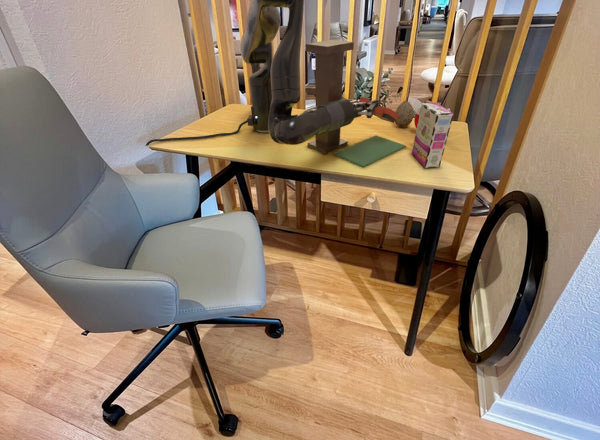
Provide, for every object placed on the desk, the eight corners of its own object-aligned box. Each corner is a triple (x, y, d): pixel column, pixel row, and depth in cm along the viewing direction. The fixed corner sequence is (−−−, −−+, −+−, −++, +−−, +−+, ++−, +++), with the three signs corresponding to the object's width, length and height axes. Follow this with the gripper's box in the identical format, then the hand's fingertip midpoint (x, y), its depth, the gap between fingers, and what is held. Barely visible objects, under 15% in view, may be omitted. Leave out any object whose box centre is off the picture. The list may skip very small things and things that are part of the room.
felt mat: (363, 167, 95) (363, 165, 95) (333, 154, 104) (333, 153, 103) (405, 147, 106) (406, 145, 106) (375, 136, 115) (375, 135, 114)
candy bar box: (440, 167, 93) (455, 113, 84) (424, 169, 93) (437, 114, 83) (425, 152, 102) (436, 101, 93) (410, 153, 102) (420, 102, 92)
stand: (325, 154, 104) (326, 46, 85) (307, 146, 109) (305, 43, 90) (347, 145, 109) (353, 41, 90) (329, 138, 115) (332, 39, 96)
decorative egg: (389, 127, 121) (393, 101, 115) (397, 122, 126) (400, 97, 120) (407, 131, 118) (412, 104, 112) (414, 125, 122) (419, 99, 116)
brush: (368, 106, 90) (372, 96, 89) (353, 102, 93) (357, 92, 92) (394, 123, 102) (398, 114, 101) (381, 119, 106) (384, 110, 105)
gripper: (353, 106, 80) (394, 93, 88) (317, 96, 88) (357, 85, 97) (351, 134, 84) (391, 119, 93) (317, 122, 93) (356, 109, 101)
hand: (373, 102), depth 95 cm, fingers closed on brush, 2 cm apart
